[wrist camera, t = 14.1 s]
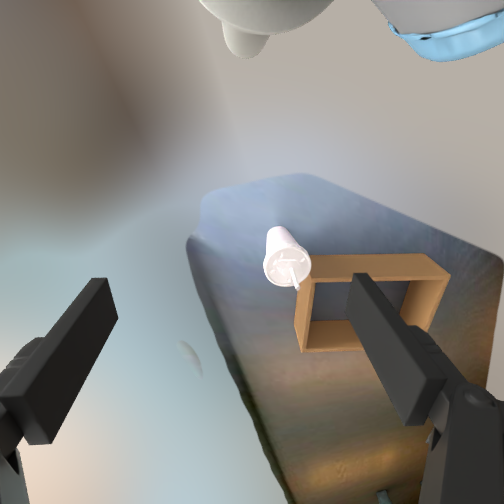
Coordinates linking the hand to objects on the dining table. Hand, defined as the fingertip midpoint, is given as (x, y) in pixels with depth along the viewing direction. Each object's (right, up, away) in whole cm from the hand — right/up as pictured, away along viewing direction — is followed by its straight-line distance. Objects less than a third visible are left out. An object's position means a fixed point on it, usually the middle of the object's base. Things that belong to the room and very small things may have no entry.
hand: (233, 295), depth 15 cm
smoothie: (+5, +5, +31) cm, 31 cm away
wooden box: (+20, -5, +37) cm, 42 cm away
